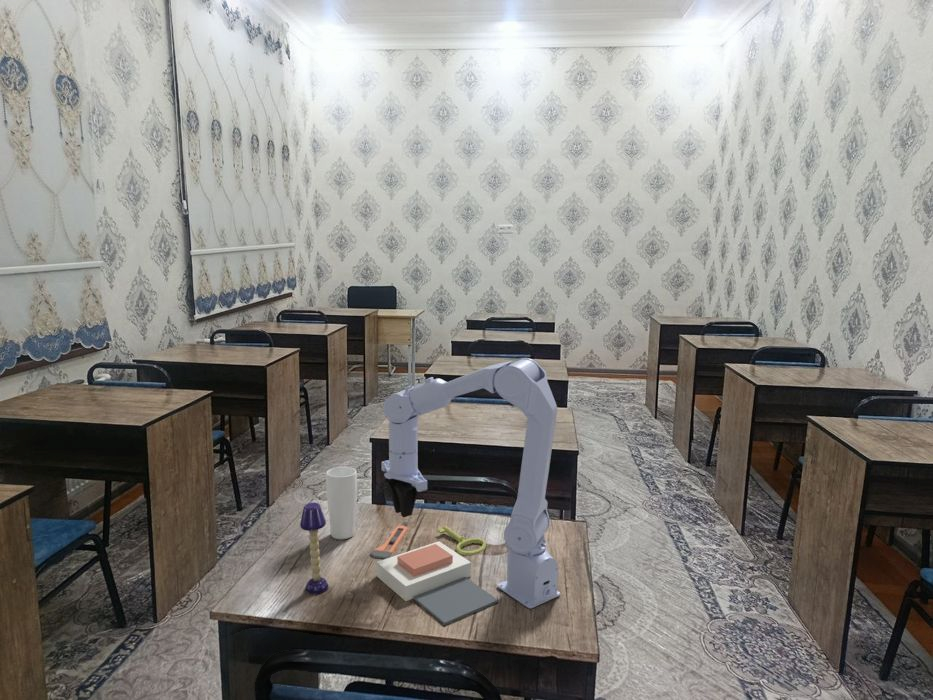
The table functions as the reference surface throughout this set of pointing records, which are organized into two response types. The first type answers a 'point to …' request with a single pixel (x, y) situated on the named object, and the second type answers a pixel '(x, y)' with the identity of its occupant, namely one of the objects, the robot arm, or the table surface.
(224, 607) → the table surface
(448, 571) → the white rectangular block
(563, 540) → the table surface
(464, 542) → the key
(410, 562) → the pink rubber eraser
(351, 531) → the drinking glass
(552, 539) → the table surface
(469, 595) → the mat
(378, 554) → the utility knife
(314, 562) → the toy lamp
